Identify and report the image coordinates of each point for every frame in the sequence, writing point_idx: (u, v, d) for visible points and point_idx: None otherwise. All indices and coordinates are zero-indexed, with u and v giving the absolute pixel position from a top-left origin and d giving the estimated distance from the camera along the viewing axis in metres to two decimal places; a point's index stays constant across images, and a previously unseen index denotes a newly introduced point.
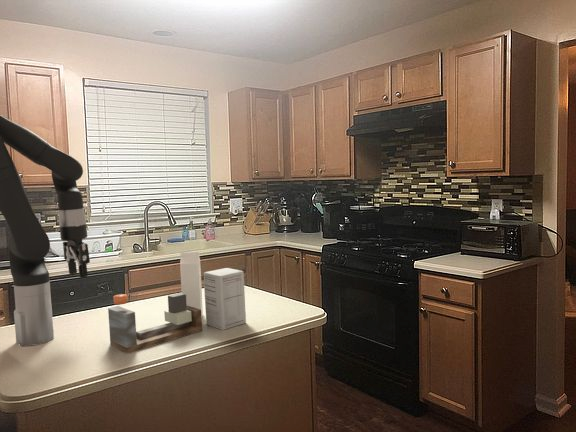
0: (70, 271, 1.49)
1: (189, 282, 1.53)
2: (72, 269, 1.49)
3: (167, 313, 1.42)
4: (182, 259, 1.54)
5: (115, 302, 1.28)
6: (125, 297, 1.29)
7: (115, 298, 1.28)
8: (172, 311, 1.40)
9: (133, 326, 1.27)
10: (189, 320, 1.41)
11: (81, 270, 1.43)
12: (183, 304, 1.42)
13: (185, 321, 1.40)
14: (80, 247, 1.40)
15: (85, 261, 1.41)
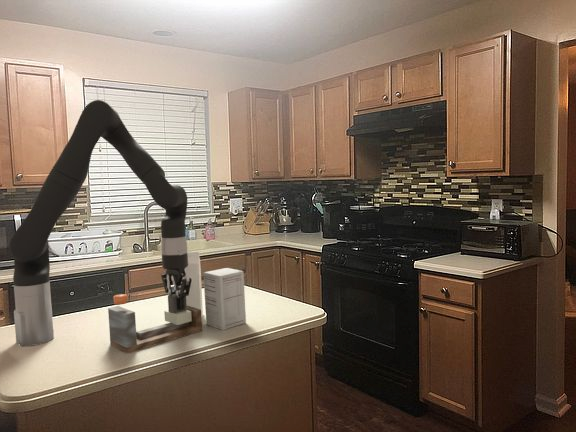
0: None
1: None
2: None
3: (167, 313, 1.42)
4: None
5: (115, 302, 1.28)
6: (125, 297, 1.29)
7: (115, 298, 1.28)
8: (172, 311, 1.40)
9: (133, 326, 1.27)
10: (189, 320, 1.41)
11: (179, 303, 1.40)
12: None
13: (185, 321, 1.40)
14: (184, 282, 1.36)
15: (185, 294, 1.38)
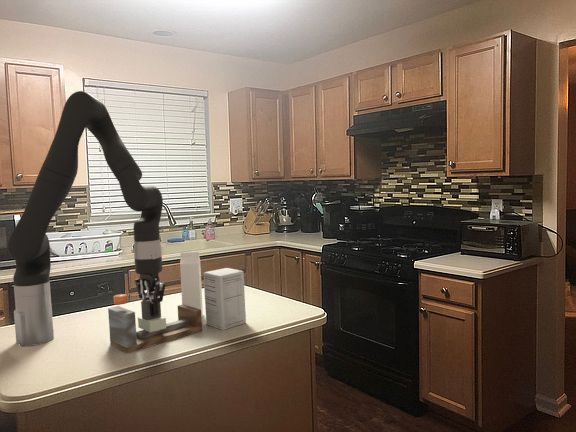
0: None
1: (189, 282, 1.53)
2: None
3: (140, 320, 1.36)
4: (182, 259, 1.54)
5: (115, 302, 1.28)
6: (125, 297, 1.29)
7: (115, 298, 1.28)
8: (145, 318, 1.34)
9: (133, 326, 1.27)
10: (163, 327, 1.35)
11: (153, 309, 1.34)
12: None
13: (159, 328, 1.34)
14: (157, 288, 1.30)
15: (158, 300, 1.32)
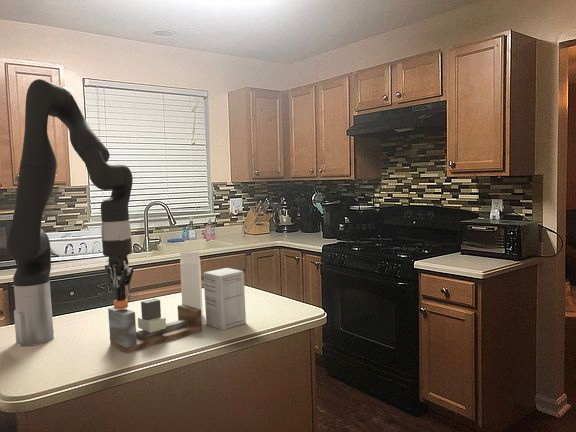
0: None
1: (189, 282, 1.53)
2: None
3: (140, 320, 1.36)
4: (182, 259, 1.54)
5: (115, 306, 1.28)
6: (125, 301, 1.29)
7: (115, 302, 1.28)
8: (145, 318, 1.34)
9: (133, 326, 1.27)
10: (163, 327, 1.35)
11: (119, 292, 1.28)
12: (157, 310, 1.36)
13: (159, 328, 1.34)
14: (125, 273, 1.24)
15: (124, 283, 1.27)
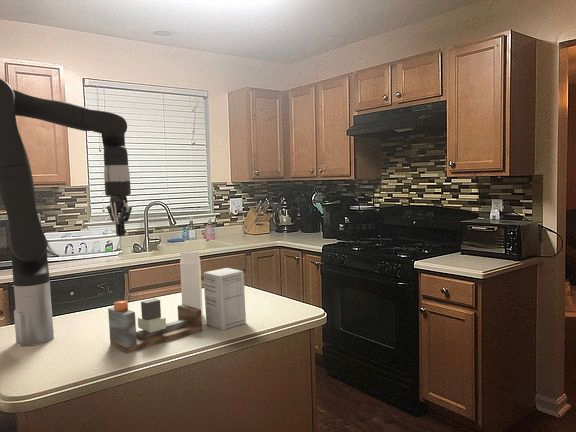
0: None
1: (189, 282, 1.53)
2: None
3: (140, 320, 1.36)
4: (182, 259, 1.54)
5: (115, 309, 1.28)
6: (125, 304, 1.29)
7: (115, 305, 1.28)
8: (145, 318, 1.34)
9: (133, 326, 1.27)
10: (163, 327, 1.35)
11: (119, 228, 1.46)
12: (157, 310, 1.36)
13: (159, 328, 1.34)
14: (124, 210, 1.42)
15: (124, 219, 1.45)
